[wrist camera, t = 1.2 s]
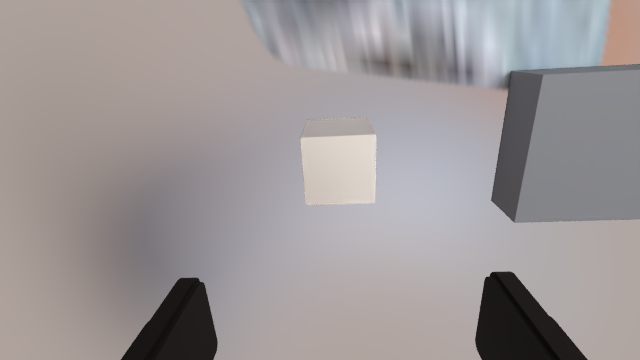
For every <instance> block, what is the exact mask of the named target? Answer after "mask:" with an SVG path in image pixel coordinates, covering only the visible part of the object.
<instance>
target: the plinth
mask: <svg viewBox="0 0 640 360" xmlns="http://www.w3.org/2000/svg"><path fill="white" fill-rule="evenodd" d="M491 201H492V202H493V203H495V204H496V205H497V206H498V207H499V208H500V209H501V210H502V211H503V212H504V213H505V214H506V215H507V216H508V217H509V218H510V219H511V220H512V221H513V222H550V221H551V222H552V221H590V220H629V219H640V64H632V65H616V66H595V67H577V68H559V69H540V70H522V71H512V73H511V79H510V86H509V92H508V98H507V104H506V111H505V117H504V123H503V130H502V136H501V142H500V148H499V154H498V161H497V168H496V173H495V180H494V186H493V192H492V199H491Z"/></svg>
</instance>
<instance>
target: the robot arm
mask: <svg viewBox="0 0 640 360" xmlns="http://www.w3.org/2000/svg"><path fill="white" fill-rule="evenodd" d="M475 341H476V347H477V350H478V352H479V355H480V357H481V359H482V360H587V358H586V357H585V356H584V355H583V354H582V353H581V351H580V350H579V349H578V348H577V347H576V345H575V344H574V343H573V342H572V341H571V339H570V338H569V337H568V336H567V335H566V333H565V332H564V331H563V330H562V329H561V327H560V326H559V325H558V324H557V322H556V321H555V320H554V319H553V318H552V317H550V316H549V315H548V314H547V313H546V312H545V311H544V309H543V308H542V307H541V306H540V304H539V303H538V302H537V301H536V300H535V298H534V297H533V296H532V295H531V294H530V292H529V291H528V290H527V289H526V288H525V286H524V285H523V284H522V283H521V281H520V280H519V279H518V278H517V277H516V275H515V274H514V273H512V272H492V273H491V274H490V277H486V278H485V281H484V288H483V294H482V300H481V306H480V313H479V319H478V326H477V332H476V338H475ZM216 351H217V337H216V332H215V329H214V324H213V319H212V315H211V311H210V306H209V302H208V297H207V294H206V289H205V285H204V283H203V282H200V281H199V279H198V278H180V279H179V280H178V281H177V282H176V284H175V285H174V286H173V288H172V289H171V291H170V292H169V294H168V295H167V297H166V298H165V299H164V301H163V302H162V304H161V305H160V307H159V308H158V310H157V311H156V312H155V314H154V315H153V317H152V318H151V320H150V321H149V322H148V323H147V324H146V325H145V326H144V328H143V329H142V330H141V332H140V333H139V335H138V336H137V337H136V339H135V340H134V342H133V343H132V345H131V346H130V347H129V349H128V350H127V352H126V353H125V355H124V356H123V357H122V359H121V360H213V359H214V356H215V354H216Z"/></svg>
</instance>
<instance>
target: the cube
mask: <svg viewBox="0 0 640 360" xmlns="http://www.w3.org/2000/svg"><path fill="white" fill-rule="evenodd" d="M300 142H301V152H302V153H301V154H302V166H303V177H304V178H303V179H304V191H305V203H306V205H335V204H367V203H376V133H375V131H374V129H373V127H372V125H371V123H370V121H369V119H368V117H351V118H330V119H309V120H307V122H306V125H305V127H304V129H303V132H302V134H301V137H300Z"/></svg>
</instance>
